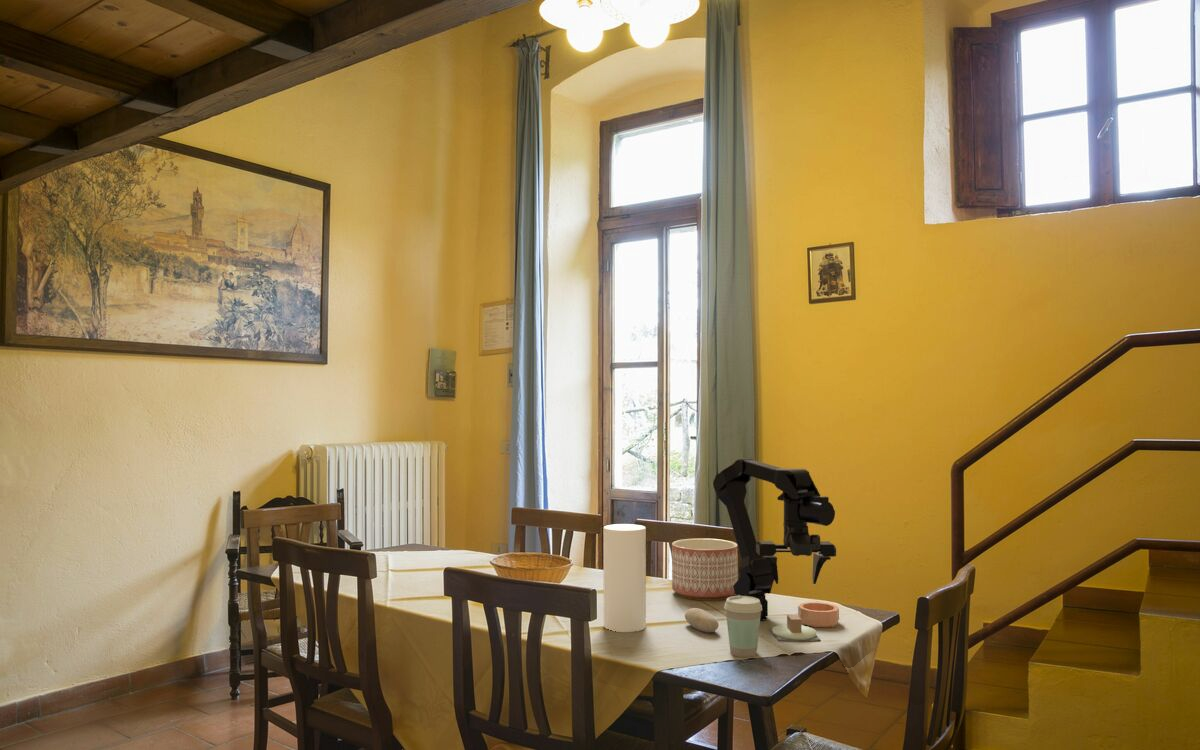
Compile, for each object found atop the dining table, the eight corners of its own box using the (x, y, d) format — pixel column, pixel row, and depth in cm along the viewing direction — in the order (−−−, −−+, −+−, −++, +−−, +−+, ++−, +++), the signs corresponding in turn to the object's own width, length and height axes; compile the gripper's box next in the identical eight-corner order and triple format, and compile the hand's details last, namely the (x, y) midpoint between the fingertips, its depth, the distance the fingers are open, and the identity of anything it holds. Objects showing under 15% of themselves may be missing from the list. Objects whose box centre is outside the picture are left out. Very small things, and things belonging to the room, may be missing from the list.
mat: (778, 641, 193) (778, 639, 193) (769, 629, 203) (769, 627, 203) (820, 641, 193) (820, 639, 193) (809, 629, 203) (809, 627, 203)
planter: (678, 585, 252) (678, 537, 252) (741, 589, 246) (740, 539, 247) (666, 599, 233) (666, 547, 234) (733, 604, 228) (733, 551, 228)
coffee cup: (754, 646, 189) (754, 594, 189) (768, 658, 180) (768, 603, 181) (719, 648, 187) (719, 596, 188) (731, 660, 179) (731, 605, 179)
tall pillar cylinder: (648, 631, 201) (648, 530, 201) (605, 632, 200) (605, 530, 201) (643, 620, 211) (642, 523, 212) (602, 621, 211) (602, 524, 211)
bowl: (804, 627, 204) (804, 611, 204) (794, 617, 214) (794, 602, 214) (843, 627, 204) (843, 611, 204) (832, 617, 214) (831, 602, 214)
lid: (777, 639, 193) (777, 622, 193) (768, 627, 203) (768, 611, 203) (821, 639, 193) (821, 622, 193) (809, 627, 203) (809, 611, 203)
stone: (697, 611, 210) (726, 607, 201) (694, 636, 208) (724, 633, 198) (679, 606, 208) (708, 602, 198) (676, 631, 205) (706, 628, 196)
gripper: (763, 525, 193) (763, 591, 193) (842, 525, 193) (842, 591, 193) (755, 518, 205) (755, 580, 204) (829, 518, 204) (830, 581, 204)
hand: (795, 583), depth 201 cm, fingers open, 9 cm apart
